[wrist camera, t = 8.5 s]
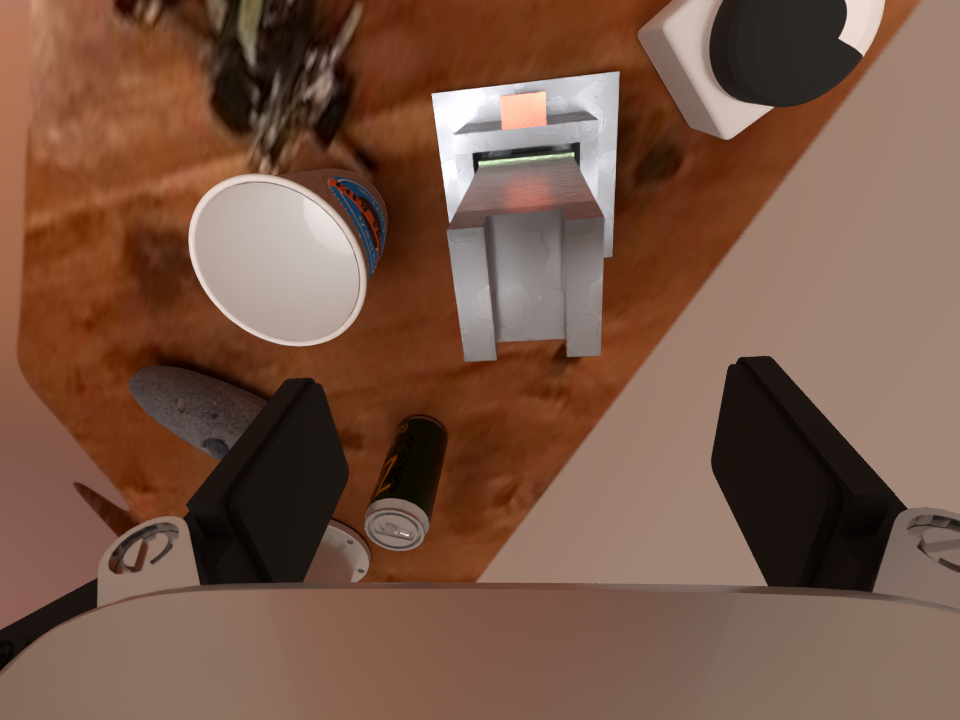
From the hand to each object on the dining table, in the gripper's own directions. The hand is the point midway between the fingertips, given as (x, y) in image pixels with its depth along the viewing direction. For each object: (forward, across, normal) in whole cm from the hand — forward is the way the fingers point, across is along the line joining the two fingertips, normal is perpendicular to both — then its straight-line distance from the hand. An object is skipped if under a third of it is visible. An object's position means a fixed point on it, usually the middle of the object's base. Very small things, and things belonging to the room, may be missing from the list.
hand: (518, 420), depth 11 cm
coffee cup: (+28, +14, +1) cm, 32 cm away
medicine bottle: (+28, -12, -8) cm, 32 cm away
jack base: (+28, 0, -1) cm, 28 cm away
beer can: (+29, +12, +23) cm, 39 cm away
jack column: (+21, 0, -1) cm, 21 cm away
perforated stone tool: (+29, +30, +17) cm, 45 cm away
